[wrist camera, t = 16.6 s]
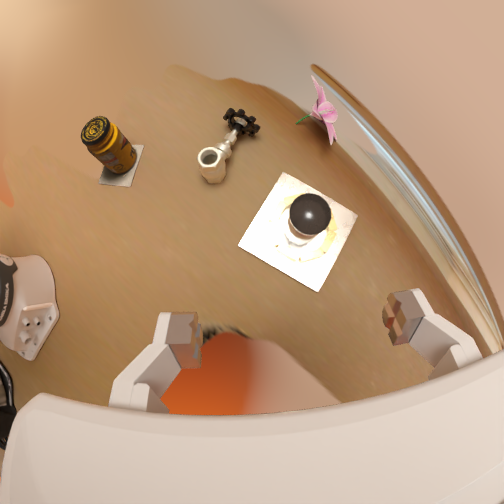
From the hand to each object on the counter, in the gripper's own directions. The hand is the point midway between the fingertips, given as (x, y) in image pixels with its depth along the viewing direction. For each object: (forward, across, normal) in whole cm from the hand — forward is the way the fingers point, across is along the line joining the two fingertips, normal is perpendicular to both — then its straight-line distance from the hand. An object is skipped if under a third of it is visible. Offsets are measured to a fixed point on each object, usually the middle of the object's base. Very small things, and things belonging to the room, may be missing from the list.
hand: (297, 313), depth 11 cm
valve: (+39, +5, +6) cm, 40 cm away
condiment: (+40, +25, +5) cm, 47 cm away
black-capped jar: (+28, -6, +15) cm, 32 cm away
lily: (+43, -12, +2) cm, 45 cm away
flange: (+29, -6, +15) cm, 33 cm away
